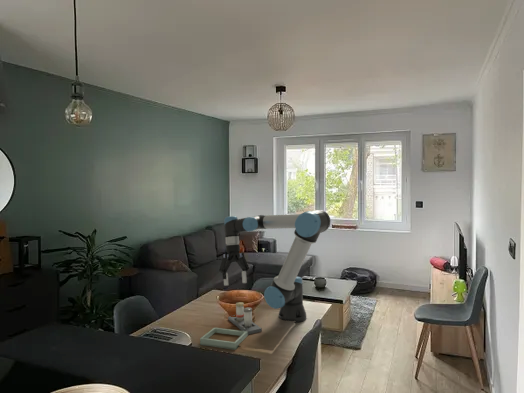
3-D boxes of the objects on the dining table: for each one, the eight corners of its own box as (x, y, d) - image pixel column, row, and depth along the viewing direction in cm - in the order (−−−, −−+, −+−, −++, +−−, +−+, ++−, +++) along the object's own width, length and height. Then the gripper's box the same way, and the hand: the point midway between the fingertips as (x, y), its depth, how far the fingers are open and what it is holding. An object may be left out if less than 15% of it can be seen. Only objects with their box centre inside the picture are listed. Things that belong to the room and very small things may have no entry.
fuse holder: (228, 321, 210) (228, 316, 210) (241, 318, 214) (241, 314, 214) (247, 336, 189) (246, 331, 189) (261, 333, 192) (261, 328, 192)
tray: (247, 337, 187) (247, 331, 187) (235, 349, 174) (235, 343, 174) (214, 333, 194) (214, 327, 194) (200, 344, 181) (200, 338, 181)
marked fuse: (245, 321, 207) (245, 302, 206) (242, 324, 203) (241, 305, 202) (238, 320, 208) (237, 301, 208) (234, 323, 204) (234, 304, 204)
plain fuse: (253, 327, 198) (253, 307, 197) (250, 330, 194) (249, 310, 194) (246, 326, 199) (245, 307, 199) (242, 329, 195) (242, 309, 195)
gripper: (244, 244, 225) (247, 282, 222) (210, 246, 207) (213, 286, 203) (253, 243, 220) (256, 281, 217) (219, 244, 202) (222, 286, 198)
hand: (235, 284), depth 210 cm, fingers open, 13 cm apart
